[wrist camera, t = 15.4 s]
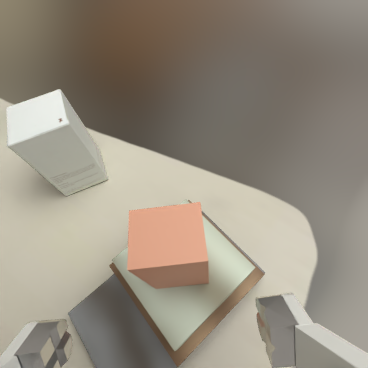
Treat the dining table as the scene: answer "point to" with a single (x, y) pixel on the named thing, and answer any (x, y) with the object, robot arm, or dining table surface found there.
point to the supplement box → (55, 142)
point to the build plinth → (119, 328)
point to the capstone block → (168, 246)
